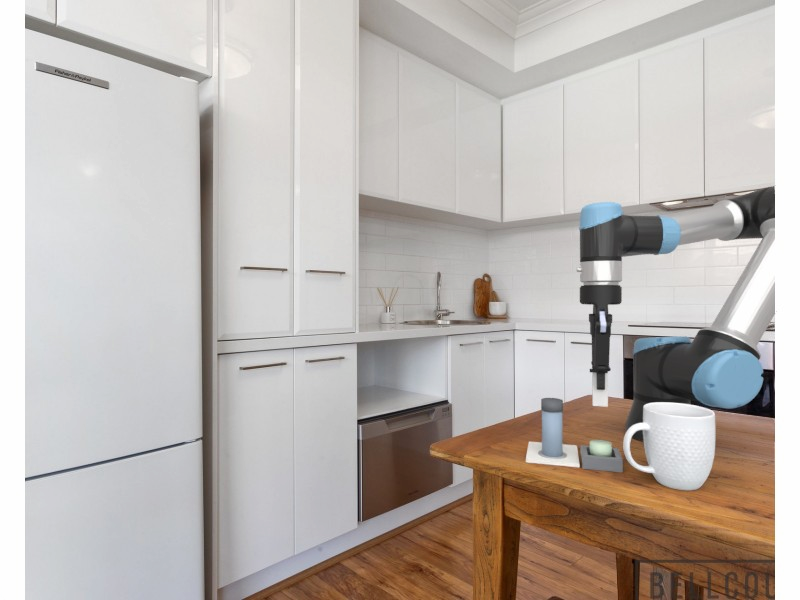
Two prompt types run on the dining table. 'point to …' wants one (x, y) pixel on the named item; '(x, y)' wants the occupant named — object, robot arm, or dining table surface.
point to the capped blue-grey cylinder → (552, 427)
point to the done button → (600, 448)
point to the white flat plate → (566, 459)
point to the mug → (675, 443)
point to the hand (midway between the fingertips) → (600, 405)
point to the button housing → (601, 460)
